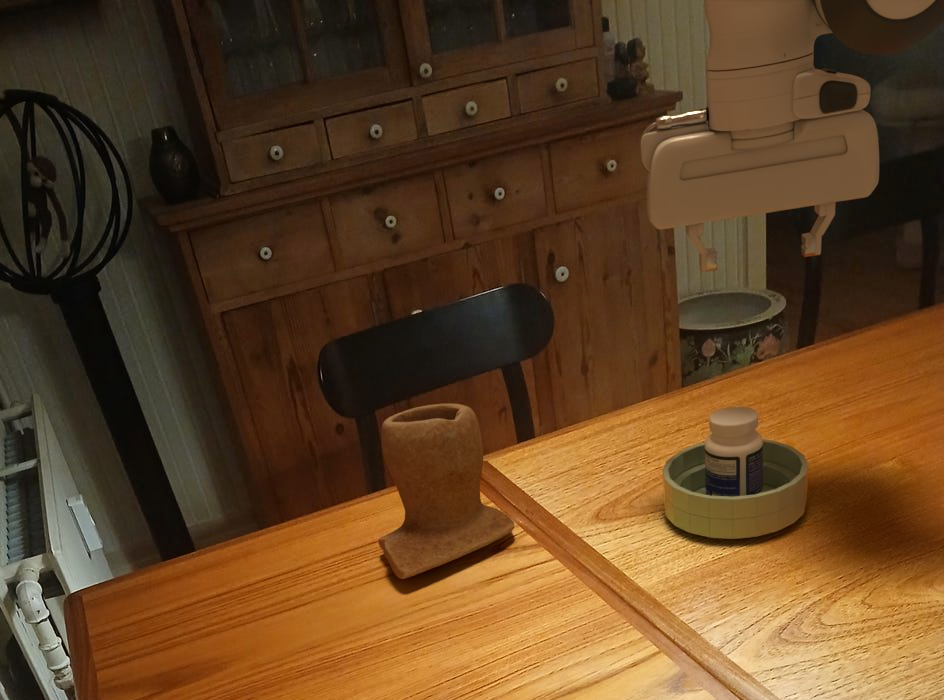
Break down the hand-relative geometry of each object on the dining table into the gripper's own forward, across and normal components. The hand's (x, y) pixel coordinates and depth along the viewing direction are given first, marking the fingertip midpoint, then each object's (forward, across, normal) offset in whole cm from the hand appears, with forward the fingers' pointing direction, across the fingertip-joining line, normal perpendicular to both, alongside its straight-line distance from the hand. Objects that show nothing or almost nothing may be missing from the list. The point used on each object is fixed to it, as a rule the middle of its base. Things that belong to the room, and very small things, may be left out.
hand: (759, 262), depth 93 cm
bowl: (+24, -3, -4) cm, 24 cm away
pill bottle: (+23, -3, -4) cm, 24 cm away
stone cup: (+23, -34, -6) cm, 42 cm away
